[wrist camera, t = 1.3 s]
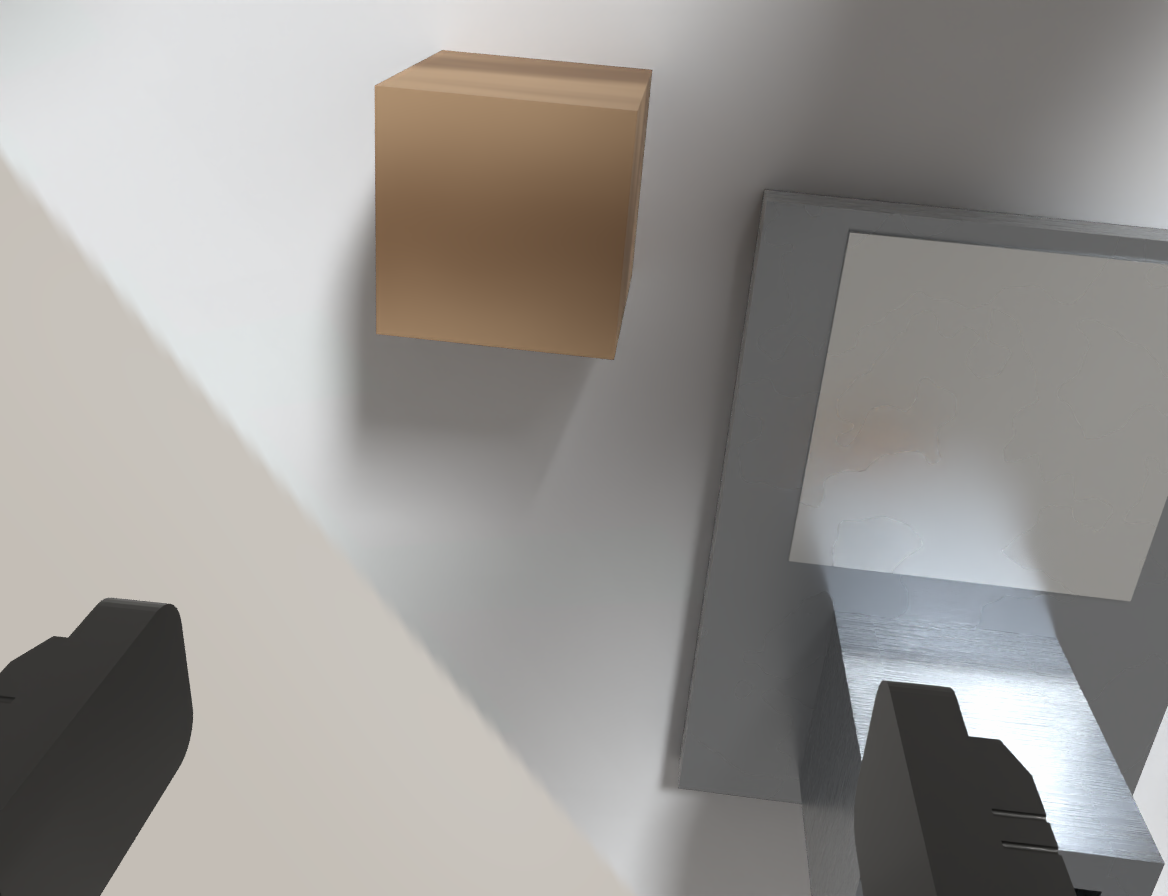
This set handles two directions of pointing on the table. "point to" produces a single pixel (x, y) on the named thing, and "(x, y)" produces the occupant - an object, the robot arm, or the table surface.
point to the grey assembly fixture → (943, 516)
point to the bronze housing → (508, 201)
